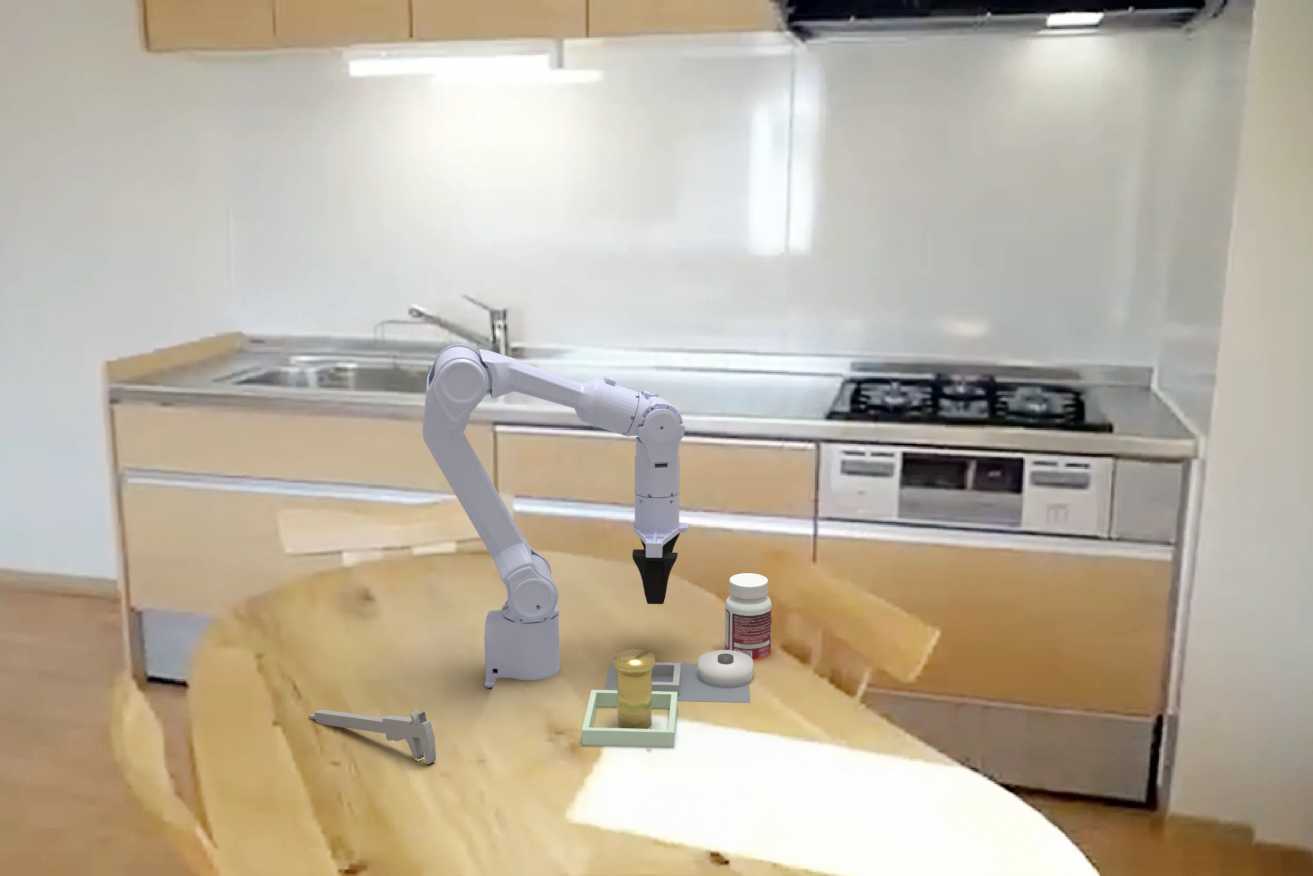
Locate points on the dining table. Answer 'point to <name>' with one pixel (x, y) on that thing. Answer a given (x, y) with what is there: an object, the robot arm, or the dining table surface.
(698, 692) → the board
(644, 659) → the lock pin
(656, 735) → the tray
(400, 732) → the caliper
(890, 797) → the dining table surface
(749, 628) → the pill bottle
